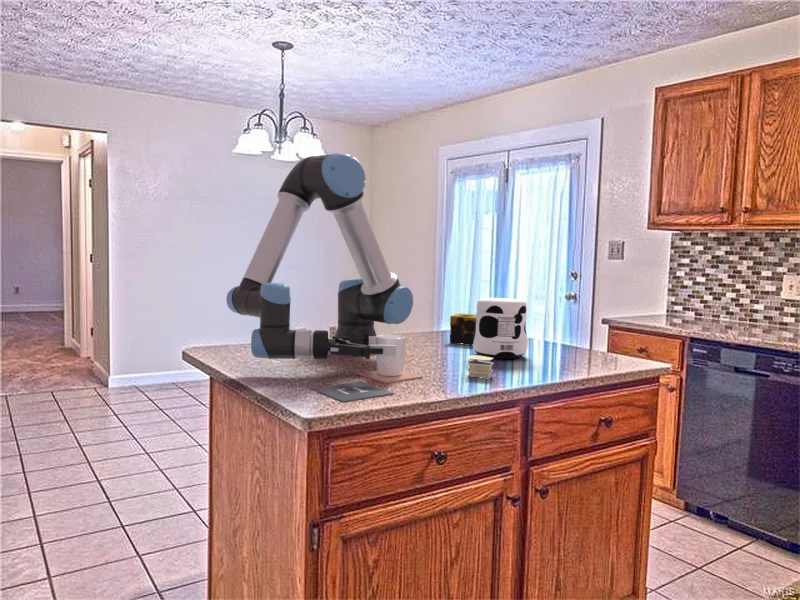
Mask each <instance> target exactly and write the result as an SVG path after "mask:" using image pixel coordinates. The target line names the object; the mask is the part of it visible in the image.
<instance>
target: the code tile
mask: <svg viewBox="0 0 800 600" xmlns="http://www.w3.org/2000/svg"><path fill="white" fill-rule="evenodd" d="M311 390H312V391H313V392H316V393H319V394H322V395H324V396H327V397H329V398H331V399H334V400H336V401H339V402H340V403H341V402H342V403H348V402H355V401H360V400H367V399H373V398H379V397H384V396H385V397H386V396H390V395H395V392H393V391H389V390H386V389H385V388H381V387H379V386H375V385H372V384H370V383H366V382H363V381H361V380H359V381H354V382H345V383H338V384H333V385H332V384H331V385H323V386H316V387H311Z"/></svg>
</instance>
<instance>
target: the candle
mask: <svg viewBox="0 0 800 600" xmlns="http://www.w3.org/2000/svg"><path fill="white" fill-rule="evenodd" d="M449 320H450V322H449V325H450V326H449V327H450V329H449V330H450V334H449V343H450V342H451V343H450V344H455V343H463V344H462V345H465V344H473V335H474V332H475V328H476V314H475V313H456V314H452V315H450V316H449Z"/></svg>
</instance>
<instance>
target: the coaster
mask: <svg viewBox="0 0 800 600" xmlns="http://www.w3.org/2000/svg"><path fill="white" fill-rule="evenodd" d="M358 375H359V376H363V377H366V378H369V379H371V380H375V381H377V382H381V383H384V384H390V383H397V382H403V381H411V380H417V379H423V377H424V376H422V375H419V374H416V373H412V372H409V371H404V370H403V371H402V375H399V376H383V375H379V374H377V370H372V371H365V372H364V371H362V372H358Z"/></svg>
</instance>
